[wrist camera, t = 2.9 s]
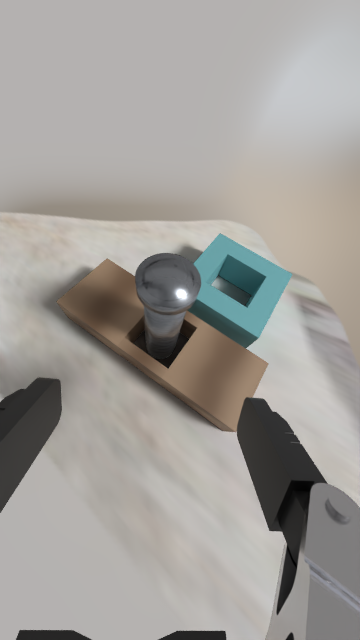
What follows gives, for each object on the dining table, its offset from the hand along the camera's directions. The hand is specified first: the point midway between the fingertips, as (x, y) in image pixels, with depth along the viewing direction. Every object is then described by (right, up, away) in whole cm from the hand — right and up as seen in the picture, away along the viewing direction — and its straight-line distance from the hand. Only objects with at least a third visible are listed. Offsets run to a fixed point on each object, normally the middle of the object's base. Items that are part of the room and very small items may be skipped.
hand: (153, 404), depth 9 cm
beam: (-1, +1, +14) cm, 14 cm away
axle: (-1, +1, +14) cm, 14 cm away
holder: (+7, +6, +18) cm, 20 cm away
